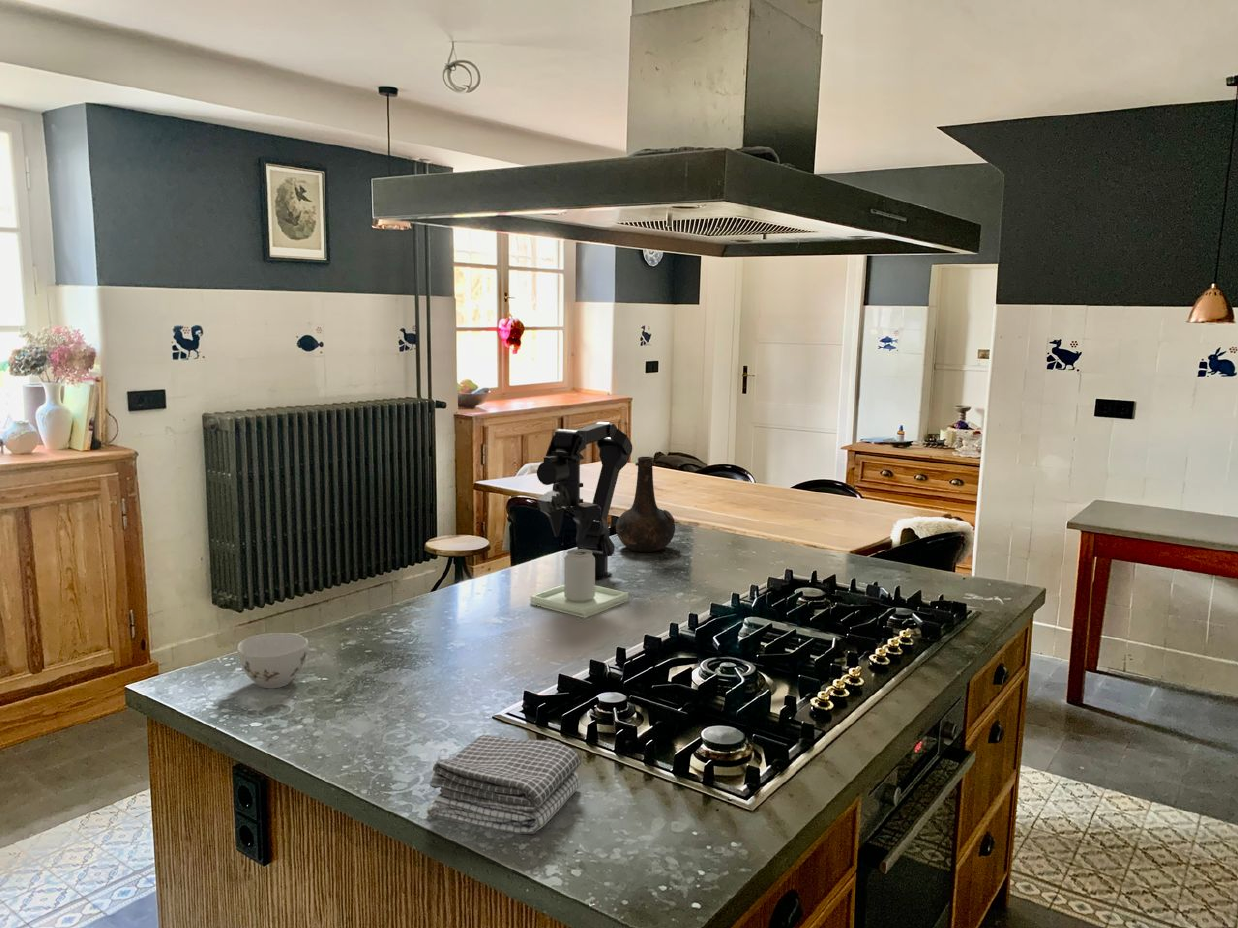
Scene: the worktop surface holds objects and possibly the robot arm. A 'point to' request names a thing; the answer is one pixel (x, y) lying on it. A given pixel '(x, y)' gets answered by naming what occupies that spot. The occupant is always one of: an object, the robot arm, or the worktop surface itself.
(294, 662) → the teacup
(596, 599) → the tray
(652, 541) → the glass bottle
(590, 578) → the can
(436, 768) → the towel
